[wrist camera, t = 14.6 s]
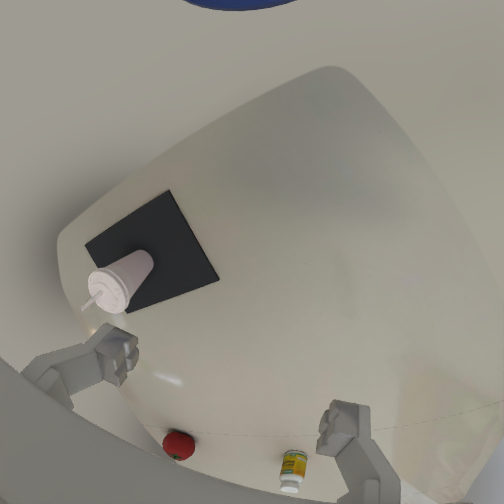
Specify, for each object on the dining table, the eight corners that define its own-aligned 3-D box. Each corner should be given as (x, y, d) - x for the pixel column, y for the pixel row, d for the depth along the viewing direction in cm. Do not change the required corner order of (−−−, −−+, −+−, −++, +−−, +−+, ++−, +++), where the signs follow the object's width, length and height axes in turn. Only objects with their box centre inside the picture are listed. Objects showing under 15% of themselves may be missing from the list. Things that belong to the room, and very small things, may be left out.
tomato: (200, 436, 63) (190, 459, 56) (196, 448, 66) (186, 469, 60) (169, 423, 64) (157, 445, 57) (167, 436, 67) (157, 457, 61)
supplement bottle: (295, 462, 59) (288, 495, 51) (279, 453, 59) (271, 487, 50) (312, 456, 57) (306, 491, 48) (297, 447, 56) (289, 484, 48)
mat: (169, 189, 39) (167, 190, 39) (219, 279, 43) (218, 280, 42) (85, 244, 47) (84, 245, 46) (128, 312, 50) (127, 313, 50)
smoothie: (130, 233, 43) (67, 278, 30) (166, 254, 43) (109, 307, 30) (122, 267, 46) (66, 314, 33) (155, 287, 46) (104, 342, 33)
